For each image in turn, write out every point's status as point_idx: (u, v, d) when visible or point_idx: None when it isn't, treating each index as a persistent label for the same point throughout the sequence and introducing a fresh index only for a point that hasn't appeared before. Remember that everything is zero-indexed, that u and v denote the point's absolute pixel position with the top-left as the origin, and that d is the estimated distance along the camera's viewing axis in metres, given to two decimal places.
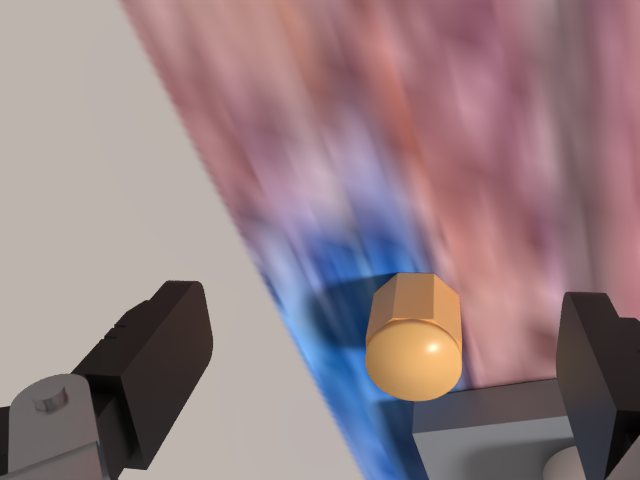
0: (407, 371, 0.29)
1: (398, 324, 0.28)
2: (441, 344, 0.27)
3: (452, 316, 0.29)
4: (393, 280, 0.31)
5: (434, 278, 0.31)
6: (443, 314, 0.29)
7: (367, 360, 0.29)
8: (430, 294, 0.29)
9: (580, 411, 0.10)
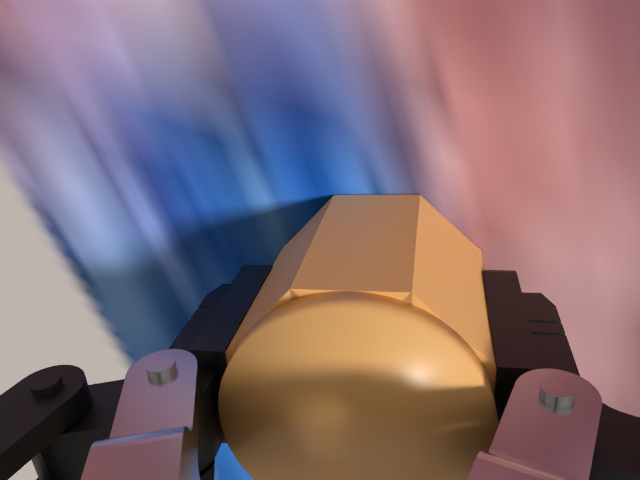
0: (338, 448, 0.10)
1: (304, 307, 0.09)
2: (436, 370, 0.09)
3: (468, 292, 0.11)
4: (321, 212, 0.13)
5: (420, 203, 0.12)
6: (444, 283, 0.10)
7: (225, 415, 0.10)
8: (409, 234, 0.11)
9: None
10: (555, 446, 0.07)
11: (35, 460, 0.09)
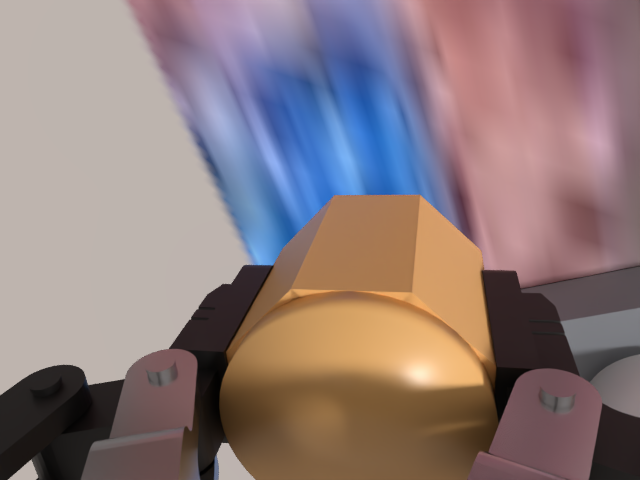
0: (339, 447, 0.10)
1: (305, 307, 0.09)
2: (436, 370, 0.09)
3: (467, 292, 0.11)
4: (322, 212, 0.13)
5: (421, 204, 0.12)
6: (444, 283, 0.10)
7: (226, 414, 0.10)
8: (409, 234, 0.11)
9: None
10: (555, 445, 0.07)
11: (35, 460, 0.09)
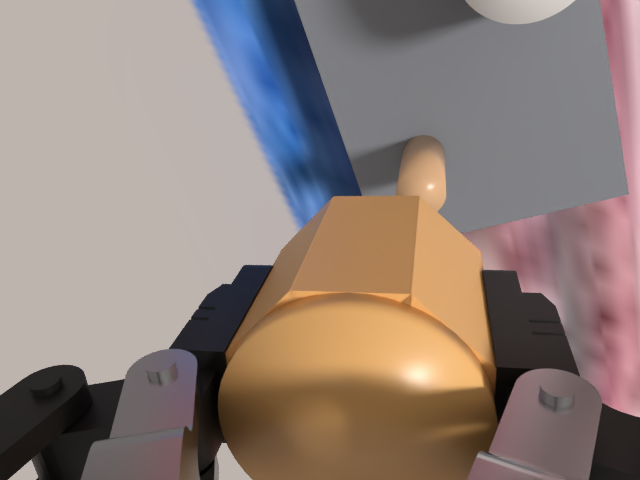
0: (338, 449, 0.10)
1: (304, 309, 0.09)
2: (436, 372, 0.09)
3: (467, 294, 0.11)
4: (321, 213, 0.13)
5: (420, 204, 0.12)
6: (443, 284, 0.10)
7: (224, 416, 0.10)
8: (408, 235, 0.11)
9: None
10: (555, 445, 0.07)
11: (35, 460, 0.09)
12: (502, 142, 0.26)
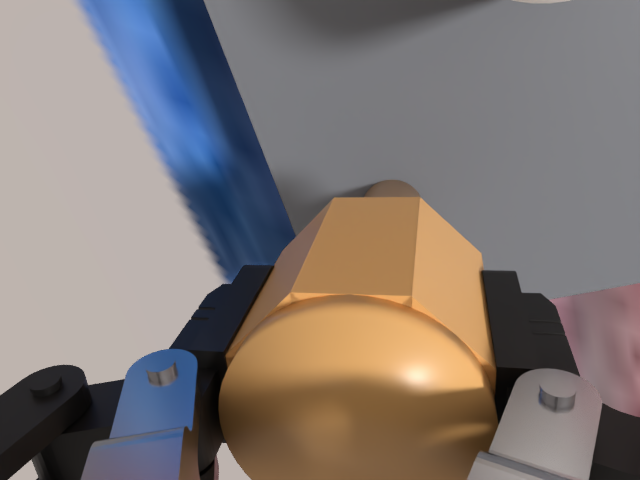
0: (338, 451, 0.10)
1: (304, 311, 0.09)
2: (436, 374, 0.09)
3: (468, 295, 0.11)
4: (321, 214, 0.13)
5: (420, 206, 0.12)
6: (444, 286, 0.10)
7: (225, 418, 0.10)
8: (409, 236, 0.11)
9: None
10: (555, 445, 0.07)
11: (35, 460, 0.09)
12: (509, 193, 0.17)
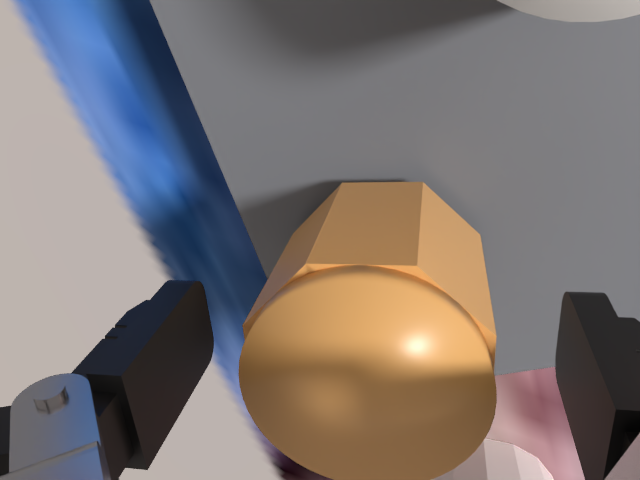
0: (349, 411, 0.11)
1: (319, 279, 0.10)
2: (439, 336, 0.10)
3: (467, 269, 0.12)
4: (331, 198, 0.14)
5: (423, 189, 0.13)
6: (446, 259, 0.11)
7: (245, 380, 0.11)
8: (413, 216, 0.12)
9: (579, 411, 0.10)
10: None
11: None
12: (524, 242, 0.14)
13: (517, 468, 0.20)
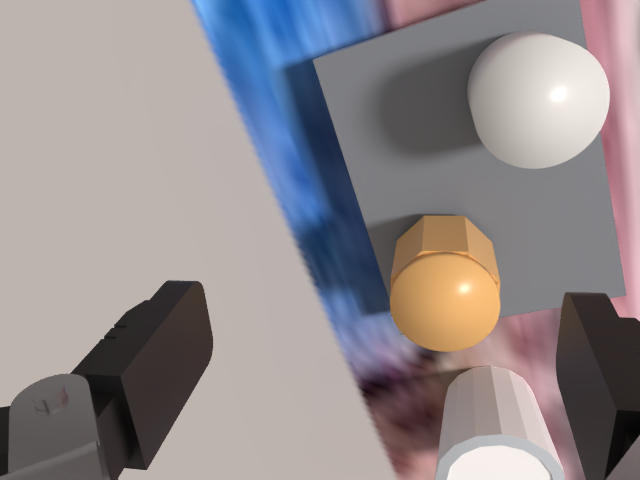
0: (437, 314, 0.25)
1: (429, 256, 0.24)
2: (477, 279, 0.24)
3: (487, 256, 0.26)
4: (420, 223, 0.28)
5: (465, 220, 0.28)
6: (478, 251, 0.26)
7: (392, 301, 0.25)
8: (463, 232, 0.26)
9: (580, 411, 0.10)
10: None
11: None
12: (513, 246, 0.29)
13: (510, 380, 0.34)
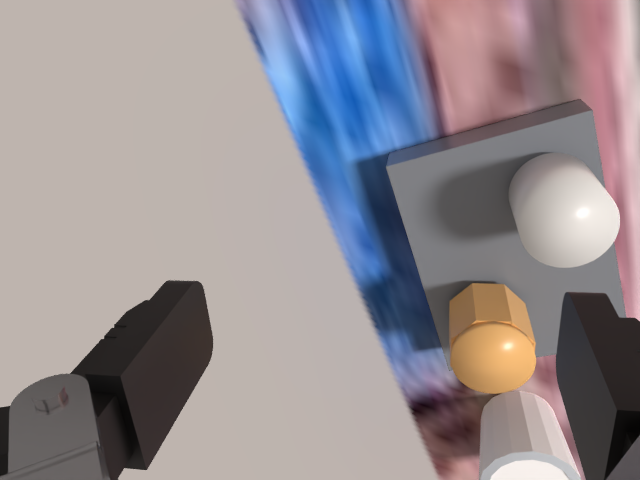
0: (487, 367, 0.33)
1: (482, 325, 0.32)
2: (519, 343, 0.32)
3: (524, 320, 0.34)
4: (469, 290, 0.36)
5: (505, 288, 0.36)
6: (518, 317, 0.34)
7: (452, 357, 0.33)
8: (505, 301, 0.34)
9: (580, 411, 0.10)
10: None
11: None
12: (541, 305, 0.37)
13: (536, 403, 0.43)
